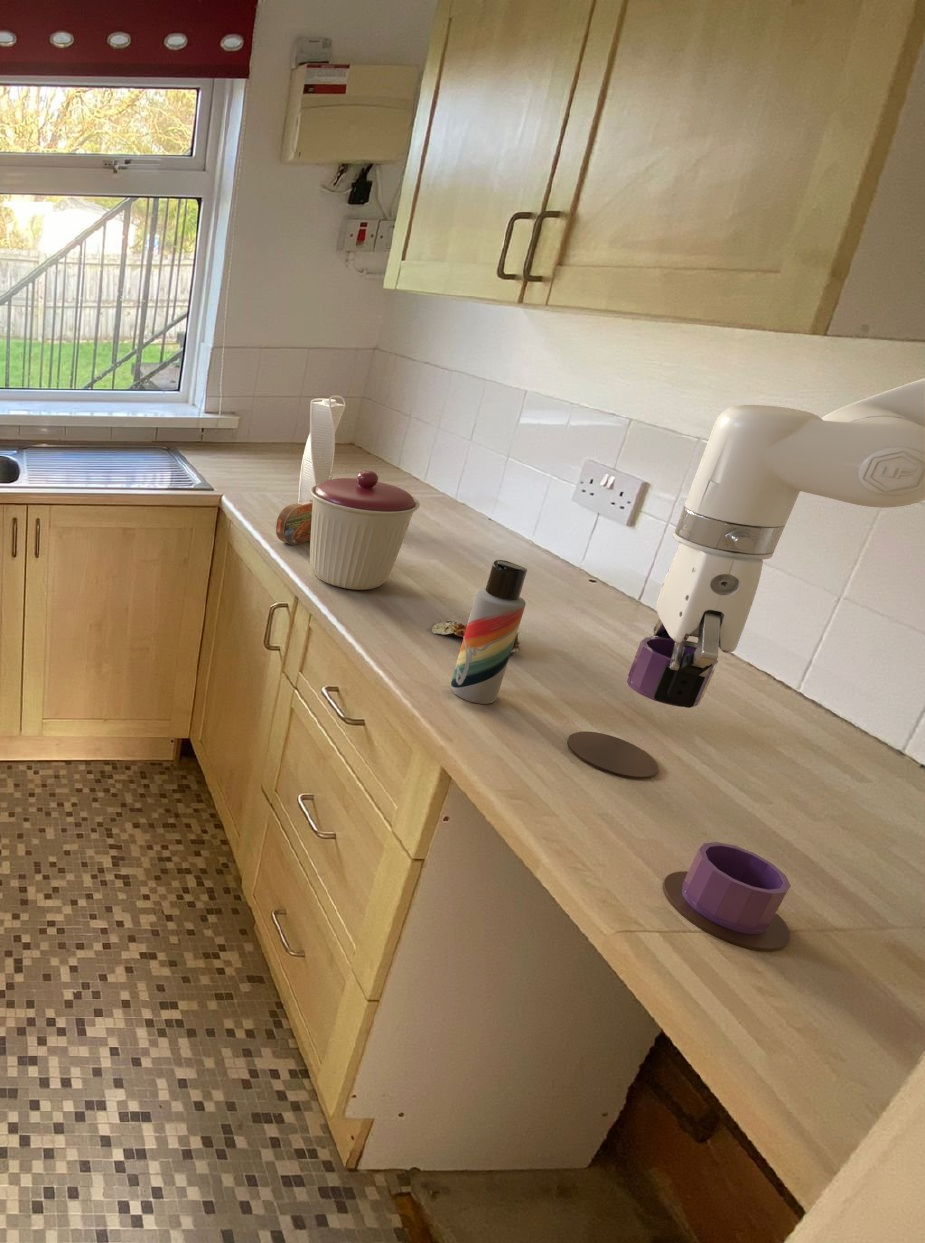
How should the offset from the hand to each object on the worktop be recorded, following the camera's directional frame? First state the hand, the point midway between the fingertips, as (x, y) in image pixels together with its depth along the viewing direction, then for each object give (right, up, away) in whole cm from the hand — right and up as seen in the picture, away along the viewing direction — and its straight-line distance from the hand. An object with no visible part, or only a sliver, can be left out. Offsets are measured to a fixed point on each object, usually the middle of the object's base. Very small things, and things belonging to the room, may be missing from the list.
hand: (664, 685), depth 82 cm
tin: (-8, +17, +80) cm, 82 cm away
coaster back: (+4, -11, +12) cm, 17 cm away
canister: (-7, +9, +61) cm, 62 cm away
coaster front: (-3, -20, -10) cm, 22 cm away
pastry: (+4, 0, +39) cm, 39 cm away
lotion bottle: (-5, -6, +25) cm, 26 cm away
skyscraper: (+1, +23, +98) cm, 100 cm away
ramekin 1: (0, -1, 0) cm, 1 cm away
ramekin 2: (-3, -19, -10) cm, 22 cm away
